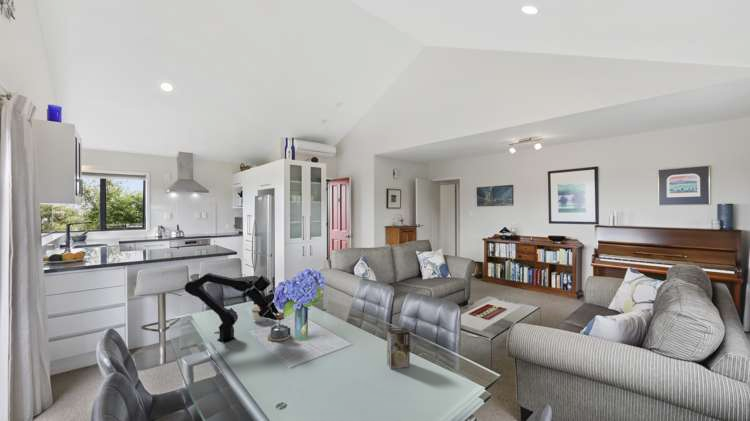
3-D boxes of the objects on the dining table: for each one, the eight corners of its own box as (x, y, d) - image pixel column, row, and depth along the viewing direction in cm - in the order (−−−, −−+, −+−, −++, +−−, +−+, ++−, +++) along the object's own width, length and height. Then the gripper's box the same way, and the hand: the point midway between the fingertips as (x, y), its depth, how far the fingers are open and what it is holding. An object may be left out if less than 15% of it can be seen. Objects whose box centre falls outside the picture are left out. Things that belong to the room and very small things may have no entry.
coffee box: (404, 361, 151) (405, 327, 151) (409, 367, 145) (410, 332, 145) (386, 363, 149) (387, 328, 149) (390, 369, 143) (391, 333, 143)
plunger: (279, 333, 171) (280, 316, 171) (270, 330, 174) (270, 314, 174) (288, 329, 177) (288, 313, 177) (279, 326, 180) (279, 311, 180)
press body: (280, 343, 168) (280, 333, 168) (262, 338, 173) (263, 329, 173) (295, 335, 178) (295, 326, 178) (278, 331, 184) (278, 322, 184)
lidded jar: (266, 323, 195) (266, 308, 195) (248, 323, 195) (249, 307, 195) (272, 318, 206) (272, 303, 206) (255, 317, 206) (256, 302, 206)
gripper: (265, 290, 165) (287, 311, 167) (270, 282, 184) (290, 301, 186) (248, 306, 164) (271, 327, 166) (256, 296, 182) (275, 315, 184)
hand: (277, 316), depth 175 cm, fingers open, 9 cm apart
